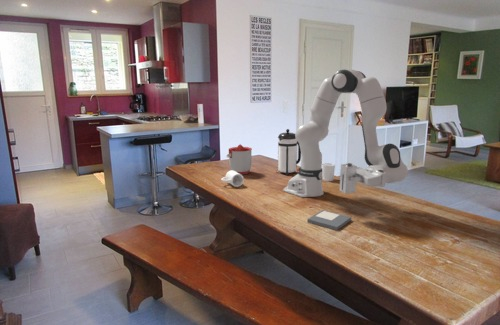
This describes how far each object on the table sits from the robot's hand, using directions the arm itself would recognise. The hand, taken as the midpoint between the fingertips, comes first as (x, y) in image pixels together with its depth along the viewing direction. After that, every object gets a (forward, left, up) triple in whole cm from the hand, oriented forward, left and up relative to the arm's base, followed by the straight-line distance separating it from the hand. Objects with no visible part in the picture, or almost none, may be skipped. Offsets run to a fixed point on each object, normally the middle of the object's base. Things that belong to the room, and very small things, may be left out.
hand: (346, 177), depth 153 cm
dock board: (-3, -9, -19) cm, 21 cm away
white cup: (-35, +51, -19) cm, 65 cm away
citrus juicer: (-90, +29, -19) cm, 96 cm away
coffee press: (-65, +51, -19) cm, 85 cm away
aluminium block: (+1, +1, -7) cm, 7 cm away
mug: (-75, +5, -19) cm, 77 cm away
